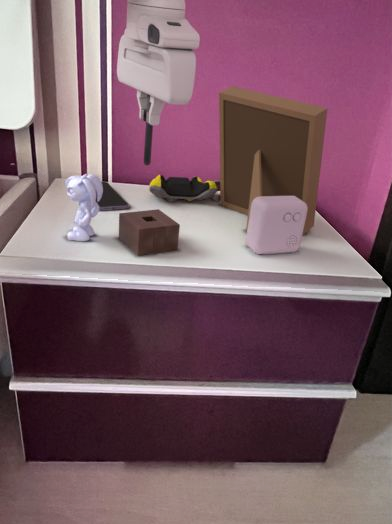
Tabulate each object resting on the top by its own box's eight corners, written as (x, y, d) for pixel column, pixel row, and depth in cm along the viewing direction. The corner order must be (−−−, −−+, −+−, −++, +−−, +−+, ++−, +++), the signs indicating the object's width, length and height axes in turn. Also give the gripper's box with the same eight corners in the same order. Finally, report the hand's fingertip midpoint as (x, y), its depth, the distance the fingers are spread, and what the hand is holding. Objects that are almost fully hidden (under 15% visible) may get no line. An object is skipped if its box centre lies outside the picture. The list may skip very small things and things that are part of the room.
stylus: (145, 166, 97) (150, 78, 90) (141, 164, 98) (146, 76, 90) (151, 166, 98) (157, 78, 90) (148, 164, 99) (154, 77, 91)
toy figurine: (72, 227, 108) (71, 164, 101) (104, 232, 107) (105, 169, 101) (59, 240, 102) (57, 174, 95) (93, 246, 101) (93, 180, 95)
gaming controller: (216, 208, 126) (207, 193, 134) (219, 183, 123) (210, 170, 131) (150, 205, 123) (144, 190, 131) (151, 180, 120) (146, 167, 128)
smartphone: (97, 207, 116) (75, 182, 127) (97, 212, 117) (75, 187, 127) (130, 205, 119) (106, 181, 130) (129, 210, 120) (106, 185, 130)
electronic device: (255, 257, 105) (264, 205, 99) (244, 247, 108) (252, 196, 103) (301, 254, 108) (312, 203, 103) (289, 244, 112) (299, 195, 107)
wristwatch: (233, 181, 132) (213, 175, 133) (223, 194, 128) (203, 188, 129) (231, 194, 134) (212, 188, 135) (222, 207, 130) (202, 201, 132)
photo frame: (231, 201, 131) (247, 84, 117) (312, 230, 120) (341, 106, 107) (191, 214, 121) (204, 88, 107) (276, 247, 110) (302, 112, 96)
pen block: (137, 256, 100) (139, 229, 97) (118, 238, 106) (119, 213, 103) (177, 250, 104) (179, 224, 101) (156, 233, 110) (158, 209, 107)
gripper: (109, 19, 92) (106, 108, 100) (168, 35, 78) (160, 138, 86) (143, 22, 95) (138, 109, 103) (206, 38, 81) (195, 137, 89)
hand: (149, 122), depth 94 cm, fingers closed on stylus, 1 cm apart
